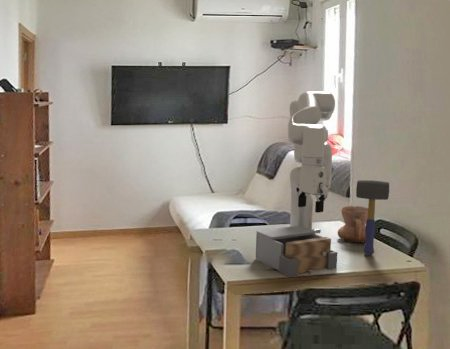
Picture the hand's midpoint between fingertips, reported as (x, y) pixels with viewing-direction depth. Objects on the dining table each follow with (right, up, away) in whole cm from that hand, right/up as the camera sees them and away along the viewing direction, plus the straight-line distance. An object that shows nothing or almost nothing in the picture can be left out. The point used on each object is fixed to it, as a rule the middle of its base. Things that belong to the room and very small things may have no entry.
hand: (310, 209), depth 200 cm
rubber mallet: (+27, -20, +23) cm, 40 cm away
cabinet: (-4, -21, +10) cm, 24 cm away
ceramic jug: (+26, -17, +45) cm, 54 cm away
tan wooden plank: (-1, -22, +3) cm, 22 cm away
